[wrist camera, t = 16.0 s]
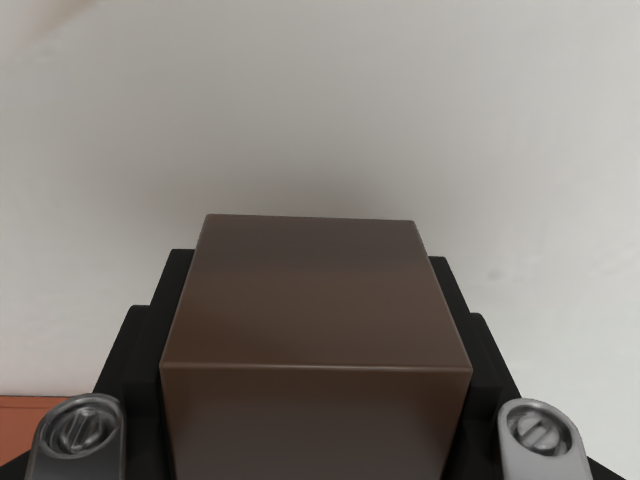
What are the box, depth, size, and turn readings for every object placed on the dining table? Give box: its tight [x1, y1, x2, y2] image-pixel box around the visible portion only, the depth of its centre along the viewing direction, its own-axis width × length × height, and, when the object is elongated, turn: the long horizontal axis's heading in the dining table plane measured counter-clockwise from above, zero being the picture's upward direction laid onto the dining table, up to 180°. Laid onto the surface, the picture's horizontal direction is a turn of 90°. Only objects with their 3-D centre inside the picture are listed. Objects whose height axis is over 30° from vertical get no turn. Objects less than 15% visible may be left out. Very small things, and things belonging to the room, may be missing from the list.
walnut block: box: [159, 214, 473, 480], centre depth 10 cm, size 4×4×4 cm
